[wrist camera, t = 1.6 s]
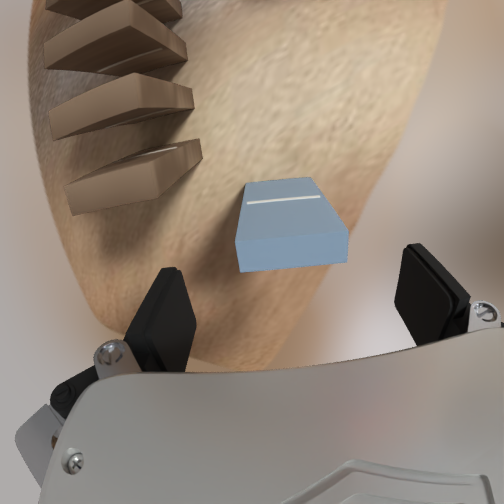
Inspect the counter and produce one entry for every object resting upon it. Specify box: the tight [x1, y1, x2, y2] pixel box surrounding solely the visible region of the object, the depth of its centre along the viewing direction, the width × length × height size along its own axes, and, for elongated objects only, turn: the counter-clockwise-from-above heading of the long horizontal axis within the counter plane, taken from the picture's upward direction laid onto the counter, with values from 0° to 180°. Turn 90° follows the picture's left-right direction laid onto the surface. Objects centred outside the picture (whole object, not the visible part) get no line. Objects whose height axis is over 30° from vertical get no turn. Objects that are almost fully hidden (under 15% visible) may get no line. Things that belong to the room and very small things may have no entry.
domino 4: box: [64, 139, 203, 216], centre depth 15 cm, size 2×5×10 cm, turn 97°
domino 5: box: [235, 177, 349, 273], centre depth 16 cm, size 2×5×10 cm, turn 97°
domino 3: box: [48, 73, 195, 141], centre depth 13 cm, size 2×5×10 cm, turn 97°
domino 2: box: [44, 0, 188, 77], centre depth 11 cm, size 2×5×10 cm, turn 97°
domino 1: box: [45, 0, 183, 24], centre depth 9 cm, size 2×5×10 cm, turn 97°
